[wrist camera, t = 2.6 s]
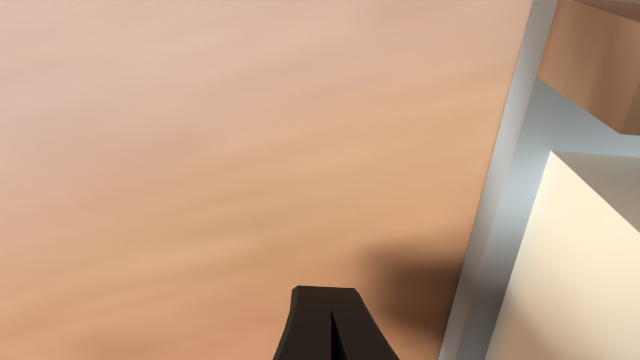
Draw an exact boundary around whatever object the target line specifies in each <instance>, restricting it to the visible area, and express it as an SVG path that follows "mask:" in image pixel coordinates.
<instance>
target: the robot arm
mask: <svg viewBox="0 0 640 360" xmlns="http://www.w3.org/2000/svg"><path fill="white" fill-rule="evenodd" d="M273 360H399V358H398V357H397V355H396V354H395V352H394V351H393V349H392V348H391V346H390V345H389V344H388V342H387V340H386V339H385V337H384V336H383V334H382V333H381V331H380V329H379V328H378V326H377V325H376V323H375V321H374V320H373V318H372V316H371V315H370V313H369V311H368V309H367V308H366V306H365V304H364V302H363V300H362V298H361V297H360V295H359V293H358V292H357V291H356V290H355V288H336V287H316V286H297V287H295V288H294V289H292V295H291V305H290V312H289V316H288V319H287V323H286V326H285V329H284V332H283V334H282V337H281V340H280V342H279V345H278V348H277V350H276V353H275V355H274V358H273Z"/></svg>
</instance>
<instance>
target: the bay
mask: <svg viewBox="0 0 640 360" xmlns="http://www.w3.org/2000/svg"><path fill="white" fill-rule="evenodd" d="M551 150H555V151H568V152H581V153H594V154H607V155H620V156H632V157H640V0H533V4H532V8H531V11H530V15H529V19H528V23H527V27H526V30H525V34H524V38H523V42H522V45H521V49H520V53H519V57H518V60H517V64H516V68H515V72H514V75H513V79H512V83H511V87H510V91H509V94H508V98H507V102H506V106H505V109H504V113H503V117H502V121H501V124H500V128H499V132H498V136H497V139H496V143H495V147H494V151H493V155H492V158H491V162H490V166H489V170H488V173H487V177H486V181H485V185H484V188H483V192H482V196H481V200H480V204H479V207H478V211H477V215H476V219H475V222H474V226H473V230H472V234H471V237H470V241H469V245H468V249H467V252H466V256H465V260H464V264H463V268H462V271H461V275H460V279H459V283H458V286H457V290H456V294H455V298H454V301H453V305H452V309H451V313H450V316H449V320H448V324H447V328H446V332H445V335H444V339H443V343H442V347H441V350H440V354H439V358H438V360H485V357H486V353H487V350H488V347H489V344H490V341H491V338H492V334H493V331H494V328H495V325H496V322H497V319H498V315H499V312H500V309H501V306H502V303H503V300H504V296H505V293H506V290H507V287H508V284H509V281H510V277H511V274H512V271H513V268H514V265H515V261H516V258H517V255H518V252H519V249H520V246H521V242H522V239H523V236H524V233H525V230H526V227H527V223H528V220H529V217H530V214H531V211H532V208H533V204H534V201H535V198H536V195H537V192H538V189H539V185H540V182H541V179H542V176H543V173H544V170H545V166H546V163H547V160H548V157H549V154H550V151H551Z"/></svg>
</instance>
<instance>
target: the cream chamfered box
mask: <svg viewBox="0 0 640 360" xmlns="http://www.w3.org/2000/svg"><path fill="white" fill-rule="evenodd" d="M485 360H640V157H632V156H620V155H607V154H594V153H581V152H568V151H555V150H551V151H550V154H549V157H548V160H547V163H546V166H545V170H544V173H543V176H542V179H541V182H540V185H539V189H538V192H537V195H536V198H535V201H534V204H533V208H532V211H531V214H530V217H529V220H528V223H527V227H526V230H525V233H524V236H523V239H522V242H521V246H520V249H519V252H518V255H517V258H516V261H515V265H514V268H513V271H512V274H511V277H510V281H509V284H508V287H507V290H506V293H505V296H504V300H503V303H502V306H501V309H500V312H499V315H498V319H497V322H496V325H495V328H494V331H493V334H492V338H491V341H490V344H489V347H488V350H487V353H486V357H485Z"/></svg>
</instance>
